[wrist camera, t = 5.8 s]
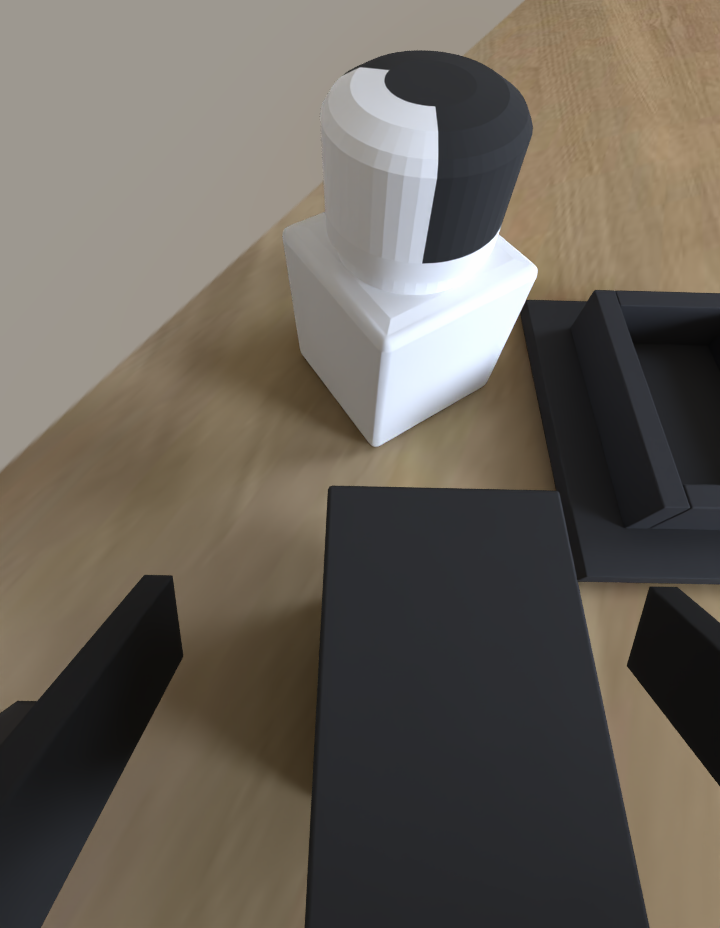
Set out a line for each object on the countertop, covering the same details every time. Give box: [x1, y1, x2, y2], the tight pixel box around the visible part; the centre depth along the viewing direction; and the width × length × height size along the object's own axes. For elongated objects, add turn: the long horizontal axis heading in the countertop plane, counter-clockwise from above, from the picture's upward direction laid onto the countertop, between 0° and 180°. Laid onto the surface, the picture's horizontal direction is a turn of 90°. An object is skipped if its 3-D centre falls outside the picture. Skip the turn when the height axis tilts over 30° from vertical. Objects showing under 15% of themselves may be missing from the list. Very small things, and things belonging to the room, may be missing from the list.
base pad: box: [520, 290, 720, 584], centre depth 19 cm, size 12×15×4 cm
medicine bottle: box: [282, 51, 537, 447], centre depth 17 cm, size 7×7×12 cm
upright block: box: [305, 486, 649, 928], centre depth 11 cm, size 4×7×11 cm, turn 179°
